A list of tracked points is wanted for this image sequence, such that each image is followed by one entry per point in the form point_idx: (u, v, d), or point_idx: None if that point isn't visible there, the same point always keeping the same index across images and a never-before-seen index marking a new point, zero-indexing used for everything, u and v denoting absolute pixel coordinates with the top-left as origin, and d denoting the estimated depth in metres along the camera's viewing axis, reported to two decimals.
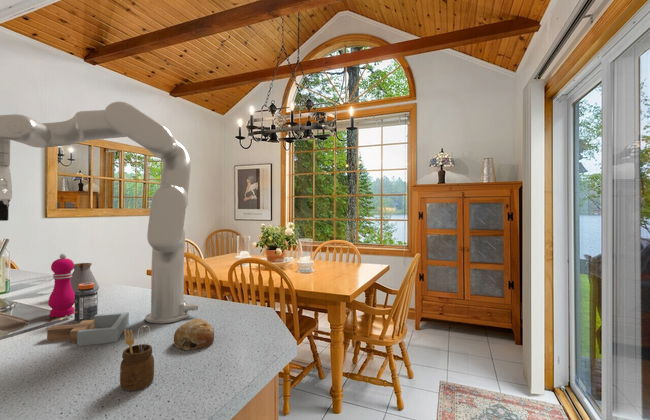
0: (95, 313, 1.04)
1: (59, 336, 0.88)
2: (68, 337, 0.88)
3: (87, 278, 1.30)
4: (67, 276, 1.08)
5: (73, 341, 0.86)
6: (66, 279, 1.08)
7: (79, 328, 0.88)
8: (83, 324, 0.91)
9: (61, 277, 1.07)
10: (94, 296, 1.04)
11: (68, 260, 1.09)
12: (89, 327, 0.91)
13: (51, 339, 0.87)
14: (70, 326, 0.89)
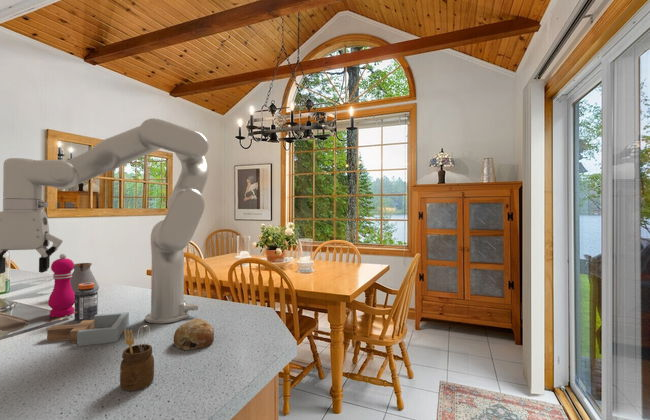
0: (95, 313, 1.04)
1: (59, 336, 0.88)
2: (68, 337, 0.88)
3: (87, 278, 1.30)
4: (67, 276, 1.08)
5: (73, 341, 0.86)
6: (66, 279, 1.08)
7: (79, 328, 0.88)
8: (83, 324, 0.91)
9: (61, 277, 1.07)
10: (94, 296, 1.04)
11: (68, 260, 1.09)
12: (89, 327, 0.91)
13: (51, 339, 0.87)
14: (70, 326, 0.89)
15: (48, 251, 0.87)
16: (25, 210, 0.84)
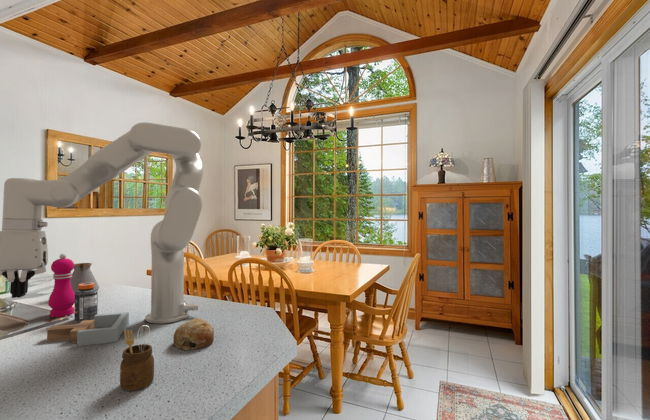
0: (95, 313, 1.04)
1: (59, 336, 0.88)
2: (68, 337, 0.88)
3: (87, 278, 1.30)
4: (67, 276, 1.08)
5: (73, 341, 0.86)
6: (66, 279, 1.08)
7: (79, 328, 0.88)
8: (83, 324, 0.91)
9: (61, 277, 1.07)
10: (94, 296, 1.04)
11: (68, 260, 1.09)
12: (89, 327, 0.91)
13: (51, 339, 0.87)
14: (70, 326, 0.89)
15: (27, 276, 0.86)
16: (24, 230, 0.84)
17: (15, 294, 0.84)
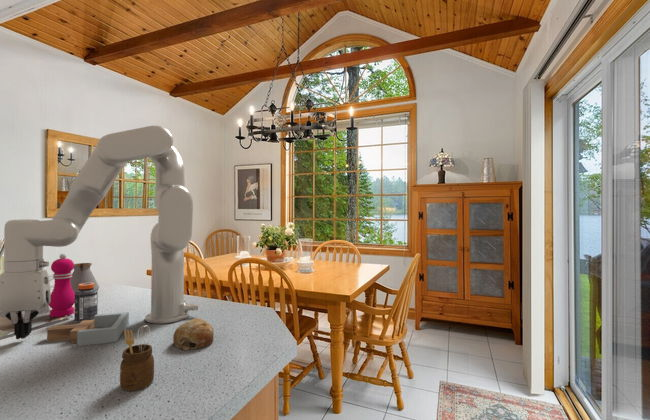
0: (95, 313, 1.04)
1: (59, 336, 0.88)
2: (68, 337, 0.88)
3: (87, 278, 1.30)
4: (67, 276, 1.08)
5: (73, 341, 0.86)
6: (66, 279, 1.08)
7: (79, 328, 0.88)
8: (83, 324, 0.91)
9: (61, 277, 1.07)
10: (94, 296, 1.04)
11: (68, 260, 1.09)
12: (89, 327, 0.91)
13: (51, 339, 0.87)
14: (70, 326, 0.89)
15: (30, 316, 0.86)
16: (26, 272, 0.84)
17: (19, 335, 0.85)
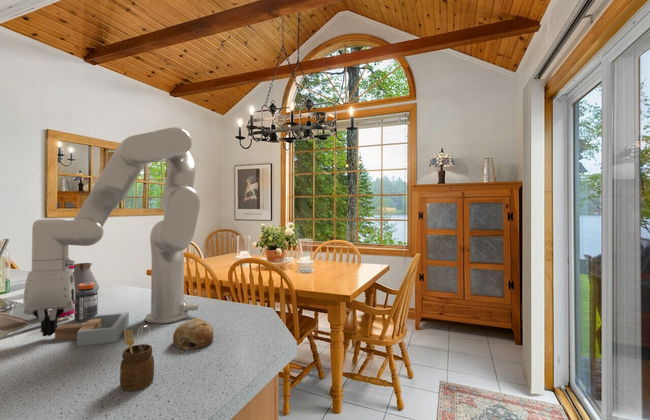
0: (95, 313, 1.04)
1: (66, 335, 0.88)
2: (76, 336, 0.89)
3: (87, 278, 1.30)
4: None
5: None
6: None
7: (87, 327, 0.89)
8: (90, 323, 0.92)
9: None
10: (94, 296, 1.04)
11: None
12: (96, 326, 0.92)
13: (59, 338, 0.87)
14: (77, 326, 0.90)
15: (56, 314, 0.88)
16: (53, 271, 0.86)
17: (46, 333, 0.87)
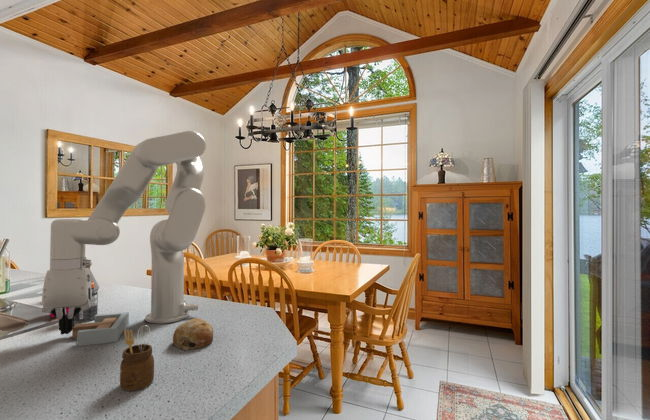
0: (95, 313, 1.04)
1: None
2: None
3: None
4: None
5: None
6: None
7: (103, 325, 0.90)
8: (106, 322, 0.93)
9: None
10: (94, 296, 1.04)
11: None
12: None
13: (76, 336, 0.89)
14: (94, 324, 0.91)
15: (74, 312, 0.89)
16: (71, 270, 0.87)
17: (64, 331, 0.88)
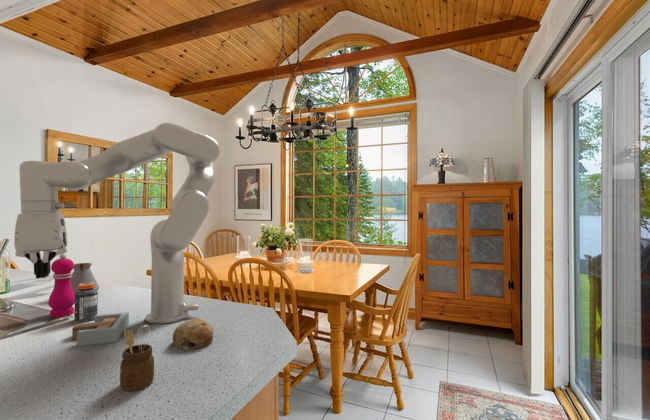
0: (95, 313, 1.04)
1: None
2: None
3: (87, 278, 1.30)
4: (67, 276, 1.08)
5: None
6: (66, 279, 1.08)
7: (103, 326, 0.90)
8: (106, 322, 0.93)
9: (61, 277, 1.07)
10: (94, 296, 1.04)
11: (68, 260, 1.09)
12: None
13: (76, 337, 0.89)
14: (94, 324, 0.91)
15: (49, 256, 0.88)
16: (43, 212, 0.85)
17: (39, 275, 0.86)
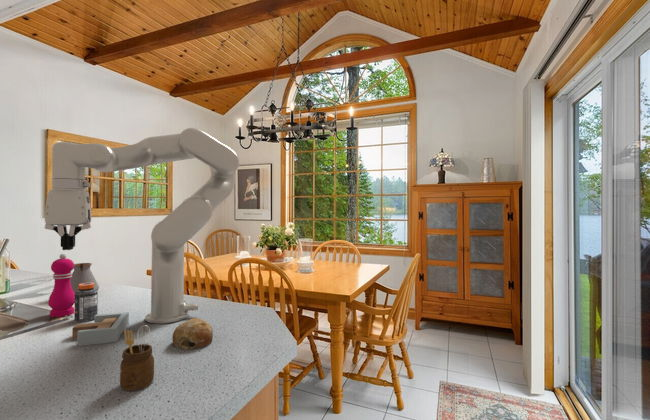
0: (95, 313, 1.04)
1: None
2: None
3: (87, 278, 1.30)
4: (67, 276, 1.08)
5: None
6: (66, 279, 1.08)
7: (103, 326, 0.90)
8: (106, 322, 0.93)
9: (61, 277, 1.07)
10: (94, 296, 1.04)
11: (68, 260, 1.09)
12: None
13: (76, 337, 0.89)
14: (94, 324, 0.91)
15: (74, 231, 0.95)
16: (72, 189, 0.93)
17: (65, 247, 0.94)
